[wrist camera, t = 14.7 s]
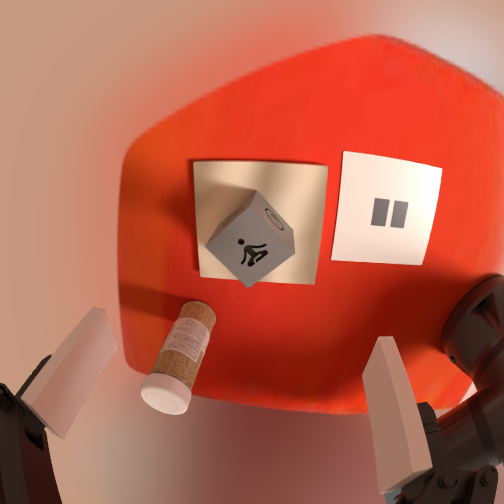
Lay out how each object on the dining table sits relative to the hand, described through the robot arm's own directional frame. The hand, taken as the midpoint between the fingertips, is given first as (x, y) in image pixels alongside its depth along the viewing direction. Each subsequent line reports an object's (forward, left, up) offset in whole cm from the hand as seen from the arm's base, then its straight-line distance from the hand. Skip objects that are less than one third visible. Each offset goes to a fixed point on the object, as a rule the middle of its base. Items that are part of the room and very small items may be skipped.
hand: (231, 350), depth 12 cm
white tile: (-13, -2, -16) cm, 21 cm away
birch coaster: (0, 0, -16) cm, 16 cm away
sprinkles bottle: (+7, +12, -17) cm, 22 cm away
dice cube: (0, 0, -16) cm, 16 cm away
